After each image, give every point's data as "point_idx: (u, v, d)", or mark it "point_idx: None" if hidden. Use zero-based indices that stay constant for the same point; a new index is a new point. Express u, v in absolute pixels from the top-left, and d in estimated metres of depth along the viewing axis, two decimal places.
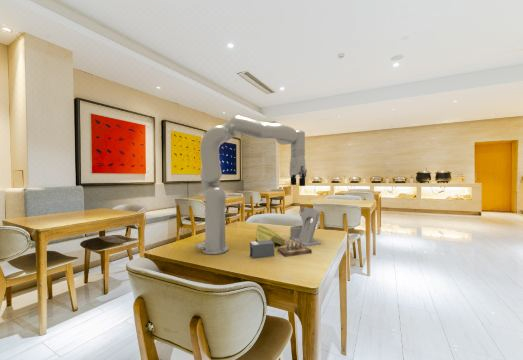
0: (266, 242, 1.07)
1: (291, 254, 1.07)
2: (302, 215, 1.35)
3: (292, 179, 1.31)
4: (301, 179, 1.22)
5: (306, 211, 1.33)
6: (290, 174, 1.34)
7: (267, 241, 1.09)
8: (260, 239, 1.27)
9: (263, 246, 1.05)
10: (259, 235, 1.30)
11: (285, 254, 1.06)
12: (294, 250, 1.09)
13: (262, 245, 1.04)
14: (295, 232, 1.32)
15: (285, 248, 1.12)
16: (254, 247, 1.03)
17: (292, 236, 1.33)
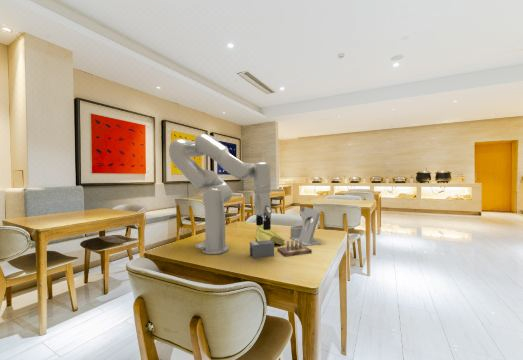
0: (266, 242, 1.07)
1: (291, 254, 1.07)
2: (302, 215, 1.35)
3: (258, 219, 1.10)
4: (265, 222, 1.01)
5: (306, 211, 1.33)
6: None
7: (267, 241, 1.09)
8: (260, 239, 1.27)
9: (263, 246, 1.05)
10: (259, 235, 1.30)
11: (285, 254, 1.06)
12: (294, 250, 1.09)
13: (262, 245, 1.04)
14: (295, 232, 1.32)
15: (285, 248, 1.12)
16: (254, 247, 1.03)
17: (292, 236, 1.33)
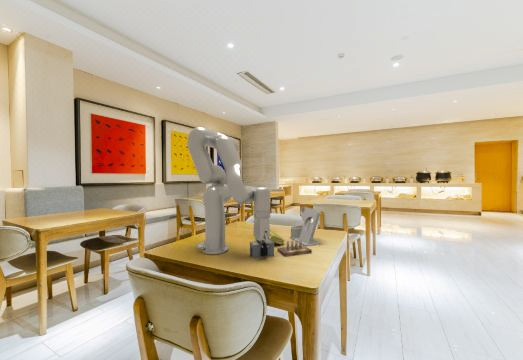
0: None
1: (291, 254, 1.07)
2: (303, 215, 1.35)
3: None
4: (262, 248, 1.03)
5: (307, 211, 1.33)
6: None
7: None
8: None
9: None
10: None
11: (285, 254, 1.06)
12: (294, 250, 1.09)
13: None
14: (295, 232, 1.32)
15: (285, 248, 1.12)
16: (254, 247, 1.03)
17: (292, 236, 1.33)
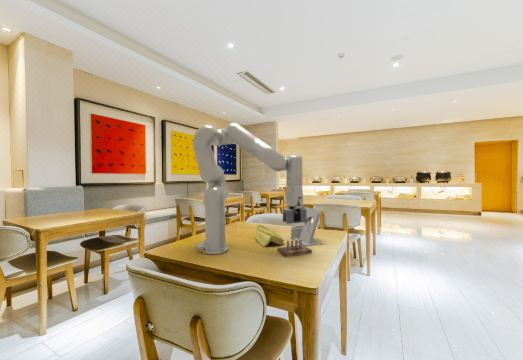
0: None
1: (291, 254, 1.07)
2: None
3: None
4: (296, 214, 1.07)
5: (307, 211, 1.32)
6: (288, 206, 1.15)
7: None
8: (260, 239, 1.28)
9: None
10: (259, 235, 1.31)
11: (285, 254, 1.06)
12: (294, 250, 1.09)
13: None
14: (296, 232, 1.32)
15: (285, 248, 1.12)
16: (288, 212, 1.07)
17: (293, 236, 1.33)
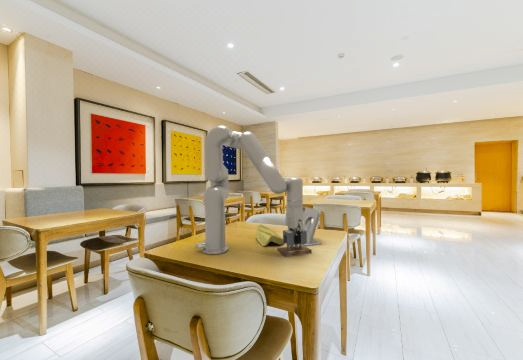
0: None
1: (291, 254, 1.07)
2: (303, 215, 1.34)
3: None
4: (296, 236, 1.08)
5: (307, 211, 1.32)
6: (288, 227, 1.16)
7: None
8: (260, 238, 1.28)
9: None
10: (259, 234, 1.31)
11: (285, 254, 1.06)
12: (294, 250, 1.09)
13: None
14: None
15: (285, 248, 1.12)
16: (288, 235, 1.08)
17: None
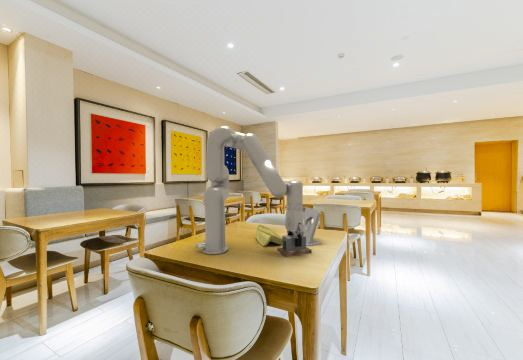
0: None
1: (291, 254, 1.07)
2: (303, 215, 1.34)
3: None
4: (297, 239, 1.07)
5: (307, 211, 1.32)
6: (287, 229, 1.17)
7: None
8: (259, 238, 1.28)
9: None
10: (259, 234, 1.31)
11: (285, 254, 1.06)
12: None
13: None
14: None
15: None
16: (288, 240, 1.08)
17: None
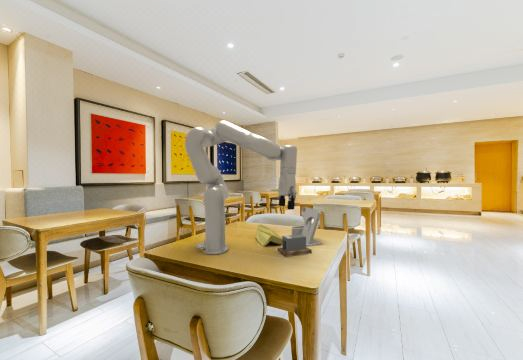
0: (298, 236, 1.12)
1: (291, 254, 1.07)
2: (304, 215, 1.34)
3: (281, 199, 1.15)
4: (290, 202, 1.06)
5: (308, 211, 1.32)
6: None
7: (299, 235, 1.13)
8: (259, 238, 1.28)
9: (296, 240, 1.09)
10: (259, 234, 1.31)
11: (285, 254, 1.06)
12: None
13: (295, 239, 1.09)
14: (296, 232, 1.32)
15: None
16: (288, 240, 1.08)
17: None
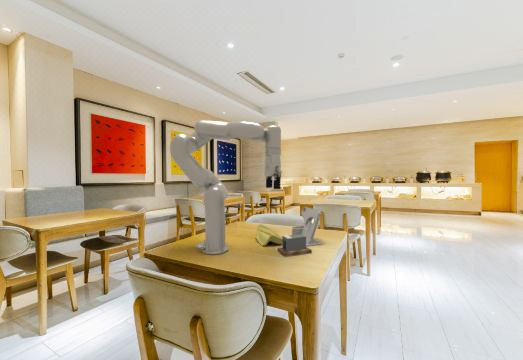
0: (298, 236, 1.12)
1: (291, 254, 1.07)
2: (304, 215, 1.34)
3: (267, 181, 1.16)
4: (275, 181, 1.07)
5: (308, 211, 1.32)
6: None
7: (299, 235, 1.13)
8: (259, 238, 1.28)
9: (296, 240, 1.09)
10: (259, 234, 1.32)
11: (285, 254, 1.06)
12: None
13: (295, 239, 1.09)
14: (296, 232, 1.32)
15: None
16: (288, 240, 1.08)
17: None
